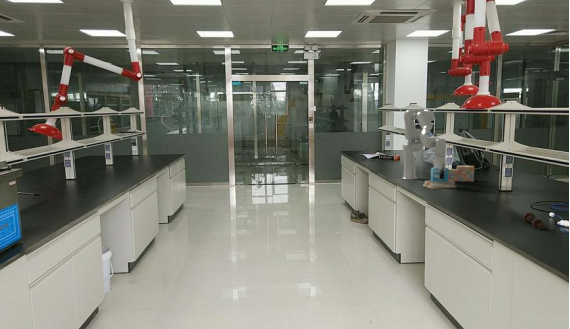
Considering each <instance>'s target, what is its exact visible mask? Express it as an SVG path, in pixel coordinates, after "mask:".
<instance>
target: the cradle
mask: <svg viewBox="0 0 570 329" xmlns="http://www.w3.org/2000/svg"><path fill="white" fill-rule="evenodd" d="M455 184H456V181H451V180H448V182H435V183H433V182H431V179H430V180H424V183H423V184H422V186H423V187H426V188H429V189H433V190H435V189H446V188H447V189H449V188H457V185H455Z"/></svg>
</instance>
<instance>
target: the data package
mask: <svg viewBox="0 0 570 329" xmlns="http://www.w3.org/2000/svg"><path fill="white" fill-rule="evenodd" d="M449 169H450V168H448V167H446V171H445V172H444V179H440V170H438V168H435V167H434V168H433V167H431V169H430V180H431V182H433V183H435V182H448V174H449ZM441 170H443V169H441Z"/></svg>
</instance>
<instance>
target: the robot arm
mask: <svg viewBox="0 0 570 329" xmlns="http://www.w3.org/2000/svg"><path fill="white" fill-rule="evenodd" d="M435 118H436V116H435V113H434V111H432V110H429V109H425V108H411V109H410V108H409V109H407V110H406V111H404V114H403V120H404V138H405V140H406V141H407V142H404V144H403V145H402V152H403V176H401V178H402V179H403V180H417V179H418V177H417V176H416V156H415V154H418V153H421V152H423V151H424V148H426V149H429V148H432V149H433V148H434V158H433V167H432V168H434V167H435V168H438V170H440V179H444V172H445V171H446V168H447V165H446V164H447V163H446V162H447V161H446V148H447V146H446V144H447V142H446V141H447V140H446V139H445V138H439V137H428V135H427V132H429V131H431V130H432V129H433V123H432V121H434V120H435ZM415 120H417V122H418V124H419V126H420V128H416V123H415ZM441 169H443V170H441Z"/></svg>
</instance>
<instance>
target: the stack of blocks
mask: <svg viewBox="0 0 570 329" xmlns="http://www.w3.org/2000/svg"><path fill="white" fill-rule="evenodd" d="M448 169H449V174H448V180H451V181H454V182H472V183H473V182H474V181H475V166H474V165H456V169H455V168H448Z"/></svg>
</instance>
